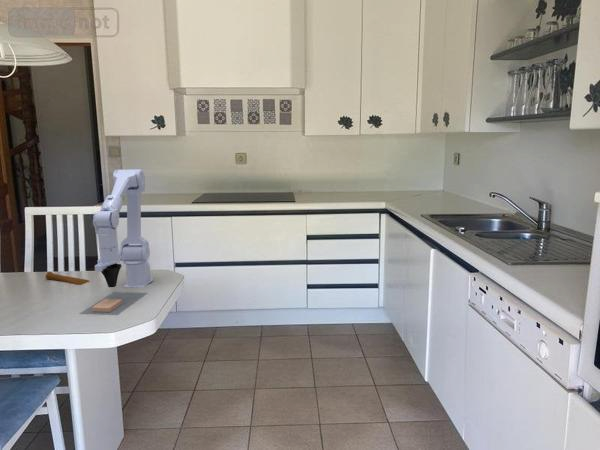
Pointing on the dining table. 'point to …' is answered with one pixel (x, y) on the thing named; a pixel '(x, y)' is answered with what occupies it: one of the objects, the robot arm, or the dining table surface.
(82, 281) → the primitive tool
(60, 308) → the dining table surface
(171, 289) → the dining table surface
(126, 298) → the mat
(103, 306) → the tile
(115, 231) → the robot arm
